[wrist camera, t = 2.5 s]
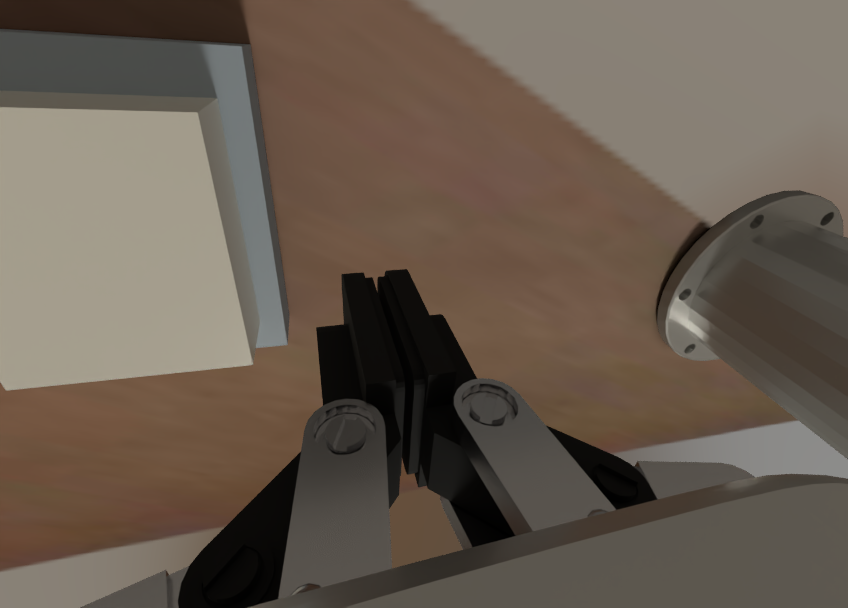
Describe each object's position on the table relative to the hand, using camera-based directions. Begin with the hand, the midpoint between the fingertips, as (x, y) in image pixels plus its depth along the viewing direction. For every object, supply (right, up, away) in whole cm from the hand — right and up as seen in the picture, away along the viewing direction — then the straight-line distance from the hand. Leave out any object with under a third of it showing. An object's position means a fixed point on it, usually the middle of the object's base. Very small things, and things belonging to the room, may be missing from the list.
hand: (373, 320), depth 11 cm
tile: (-9, +2, +3) cm, 10 cm away
